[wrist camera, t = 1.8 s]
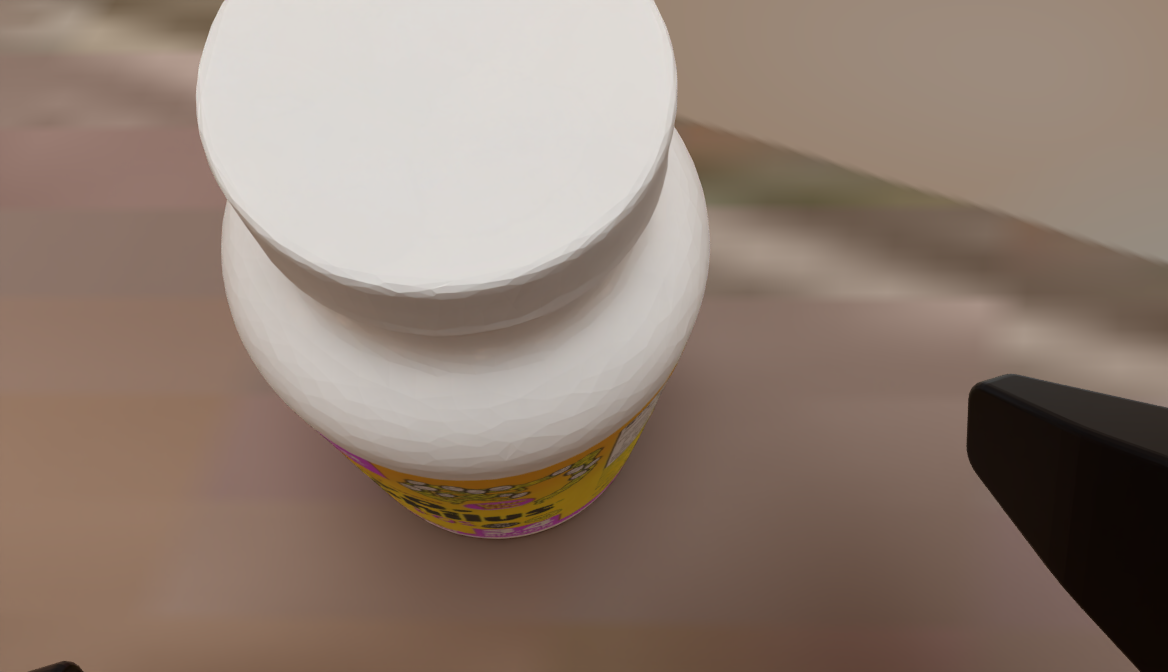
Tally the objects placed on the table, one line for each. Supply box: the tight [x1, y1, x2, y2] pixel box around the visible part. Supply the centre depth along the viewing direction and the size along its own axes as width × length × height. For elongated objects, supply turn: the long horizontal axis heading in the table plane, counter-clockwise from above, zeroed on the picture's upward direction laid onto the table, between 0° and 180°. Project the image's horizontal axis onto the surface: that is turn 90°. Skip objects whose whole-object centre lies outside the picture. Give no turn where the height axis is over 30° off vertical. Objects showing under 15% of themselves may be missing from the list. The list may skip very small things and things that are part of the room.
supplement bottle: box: [196, 0, 710, 539], centre depth 14 cm, size 7×7×13 cm
